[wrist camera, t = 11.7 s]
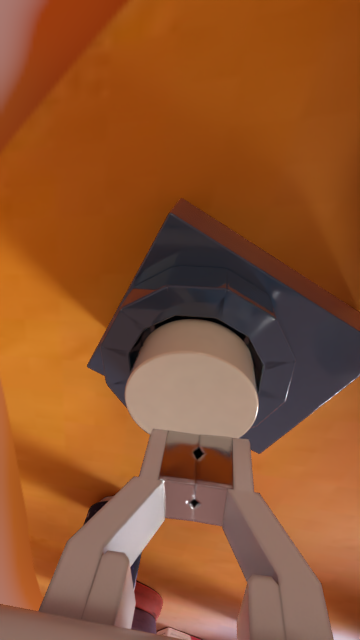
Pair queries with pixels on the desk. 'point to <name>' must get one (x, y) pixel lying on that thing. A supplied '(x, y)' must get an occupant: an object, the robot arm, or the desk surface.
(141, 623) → the stacking bear
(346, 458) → the desk surface
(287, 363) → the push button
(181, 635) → the ink box
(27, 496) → the desk surface
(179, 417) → the round beige disc
